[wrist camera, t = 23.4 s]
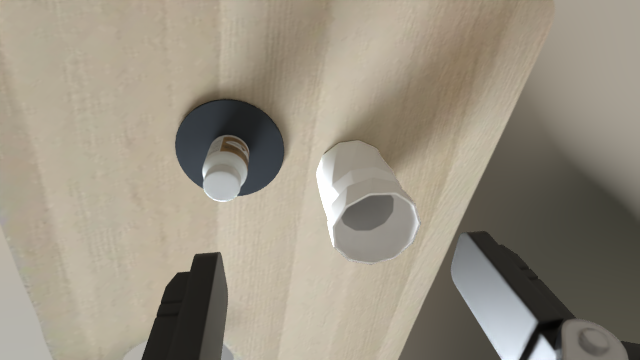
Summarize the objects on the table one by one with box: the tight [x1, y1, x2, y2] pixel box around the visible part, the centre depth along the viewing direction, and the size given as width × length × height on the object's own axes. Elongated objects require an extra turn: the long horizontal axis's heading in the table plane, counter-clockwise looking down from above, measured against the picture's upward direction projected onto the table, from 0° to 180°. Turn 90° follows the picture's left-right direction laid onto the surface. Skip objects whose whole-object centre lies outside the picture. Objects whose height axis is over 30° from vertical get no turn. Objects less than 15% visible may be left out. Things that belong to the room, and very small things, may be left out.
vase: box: [316, 140, 421, 265], centre depth 37 cm, size 9×9×12 cm
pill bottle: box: [202, 135, 249, 201], centre depth 35 cm, size 4×4×8 cm
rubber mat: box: [175, 99, 284, 196], centre depth 39 cm, size 12×12×1 cm
